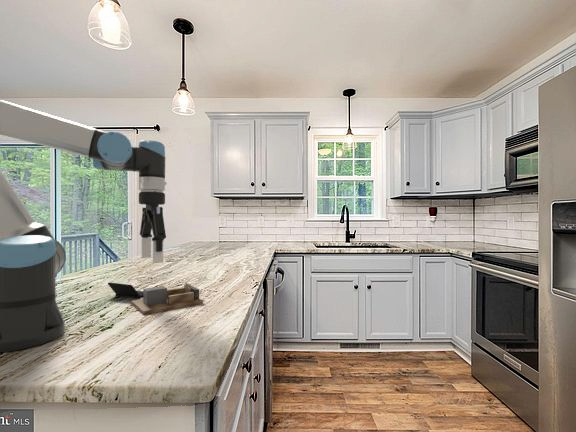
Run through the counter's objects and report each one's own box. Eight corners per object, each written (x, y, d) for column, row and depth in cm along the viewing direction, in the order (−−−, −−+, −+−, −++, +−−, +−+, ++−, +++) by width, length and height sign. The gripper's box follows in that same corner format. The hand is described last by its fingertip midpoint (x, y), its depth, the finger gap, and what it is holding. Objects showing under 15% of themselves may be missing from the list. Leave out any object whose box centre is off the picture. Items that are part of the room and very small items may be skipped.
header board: (143, 314, 90) (143, 296, 90) (131, 303, 101) (131, 287, 100) (203, 303, 101) (203, 286, 101) (186, 294, 112) (186, 279, 112)
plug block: (146, 306, 95) (146, 291, 95) (143, 303, 98) (143, 288, 98) (167, 302, 99) (167, 288, 99) (163, 299, 102) (163, 285, 102)
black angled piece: (155, 288, 115) (141, 270, 109) (146, 305, 109) (131, 286, 103) (128, 291, 117) (113, 273, 111) (118, 307, 111) (101, 289, 106)
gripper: (177, 190, 90) (177, 263, 90) (153, 194, 110) (153, 254, 110) (149, 188, 85) (149, 266, 86) (130, 193, 105) (130, 256, 105)
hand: (151, 260), depth 98 cm, fingers open, 13 cm apart
